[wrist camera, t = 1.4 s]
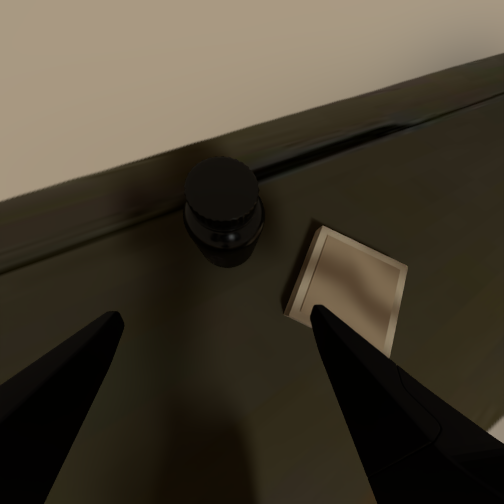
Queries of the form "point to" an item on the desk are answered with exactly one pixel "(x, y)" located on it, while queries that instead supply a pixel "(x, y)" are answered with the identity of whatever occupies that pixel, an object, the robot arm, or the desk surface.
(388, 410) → the robot arm
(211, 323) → the desk surface
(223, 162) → the supplement bottle
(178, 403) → the desk surface
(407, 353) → the desk surface
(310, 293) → the base slab
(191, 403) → the desk surface
